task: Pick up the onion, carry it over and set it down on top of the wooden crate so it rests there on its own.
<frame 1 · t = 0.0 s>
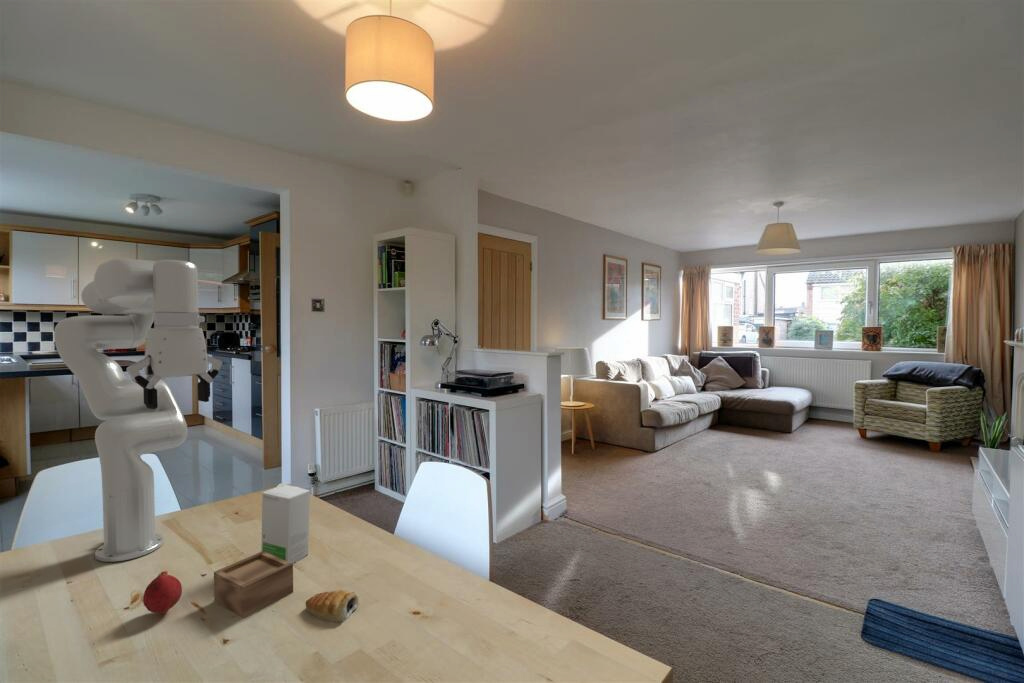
hand: (178, 404, 100), 37 cm above the table, tool pointing down, fingers open, 9 cm apart
pastry: (333, 613, 91), on the table
onion: (163, 614, 90), on the table
wooden crate: (254, 596, 96), on the table
skincare box: (286, 558, 112), on the table
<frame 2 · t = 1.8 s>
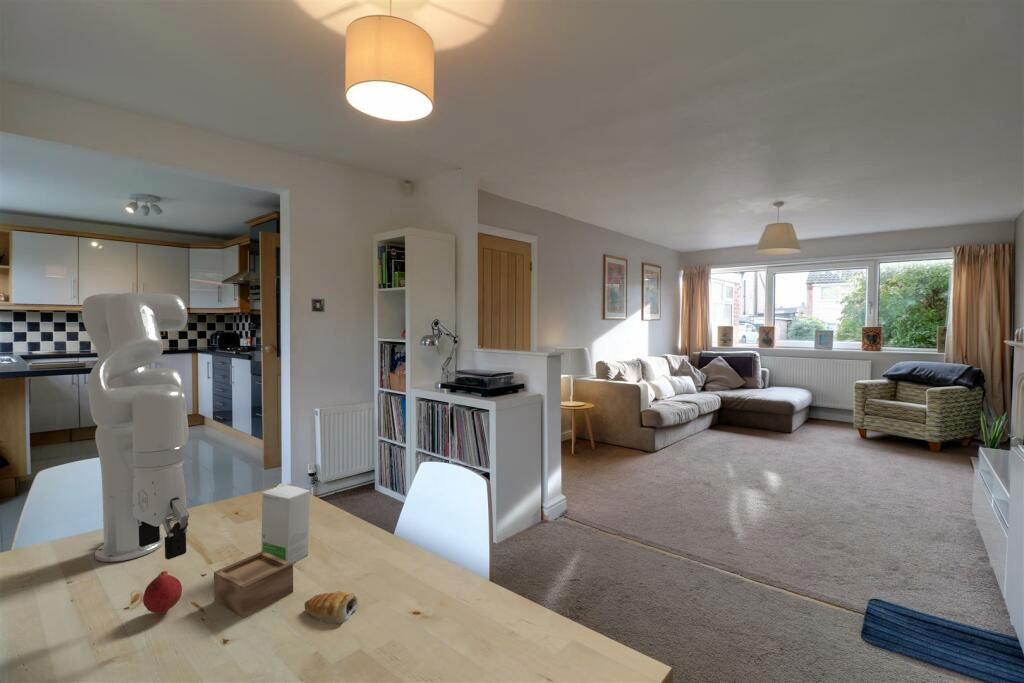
hand: (162, 550, 89), 12 cm above the table, tool pointing down, fingers open, 9 cm apart
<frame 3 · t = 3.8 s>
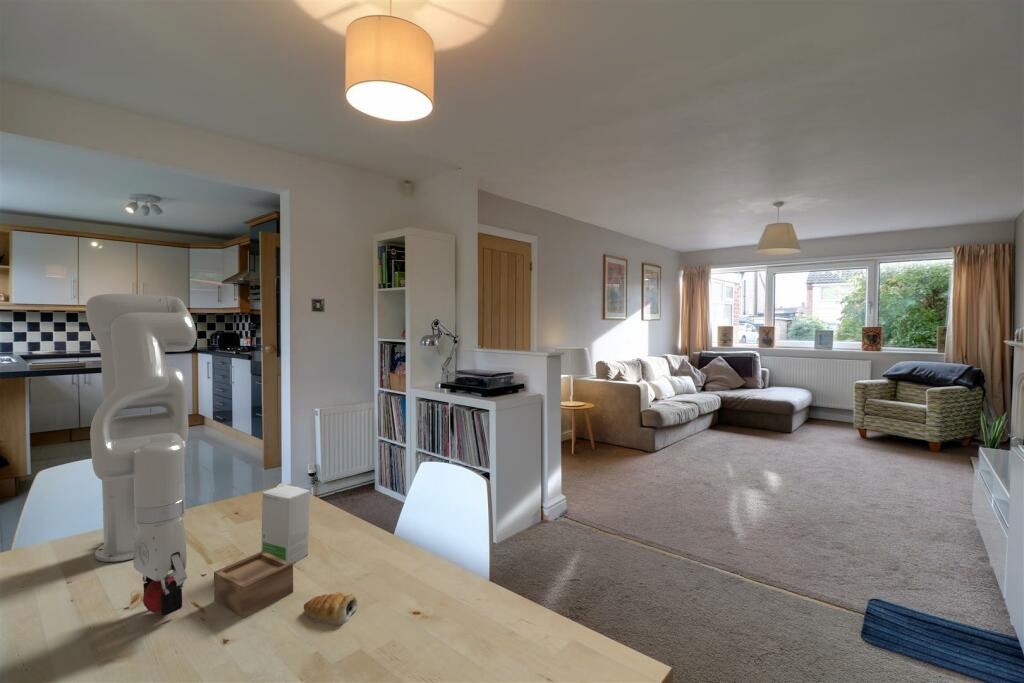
hand: (163, 605, 90), 2 cm above the table, tool pointing down, fingers closed on onion, 5 cm apart
onion: (163, 614, 90), on the table, touching gripper
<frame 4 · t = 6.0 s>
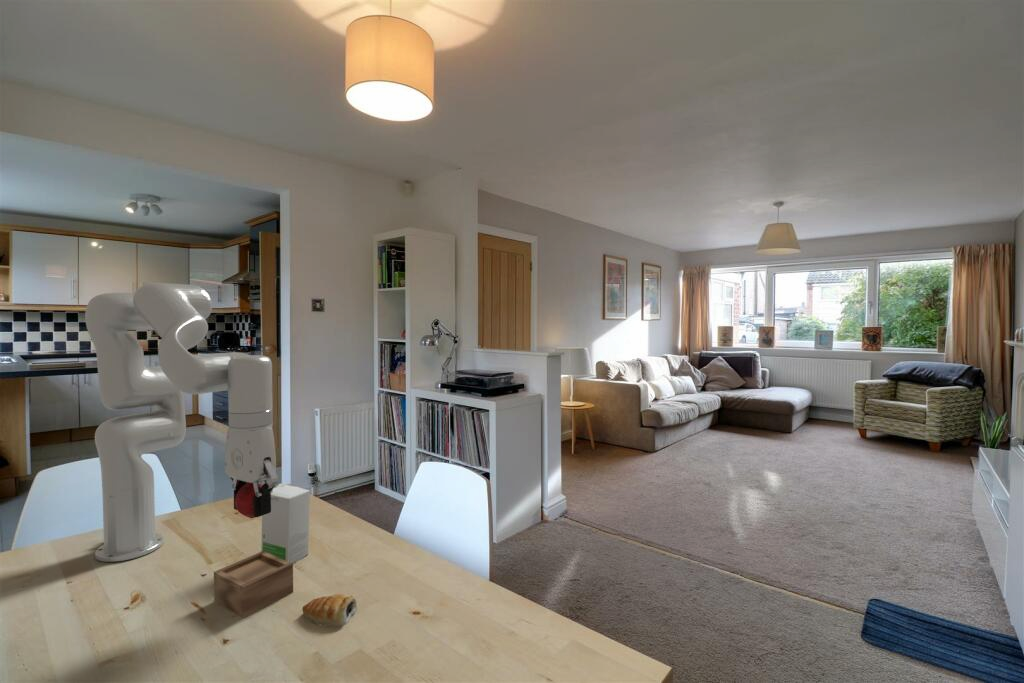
hand: (252, 510, 95), 17 cm above the table, tool pointing down, fingers closed on onion, 5 cm apart
onion: (252, 519, 95), point 16 cm above the table, touching gripper
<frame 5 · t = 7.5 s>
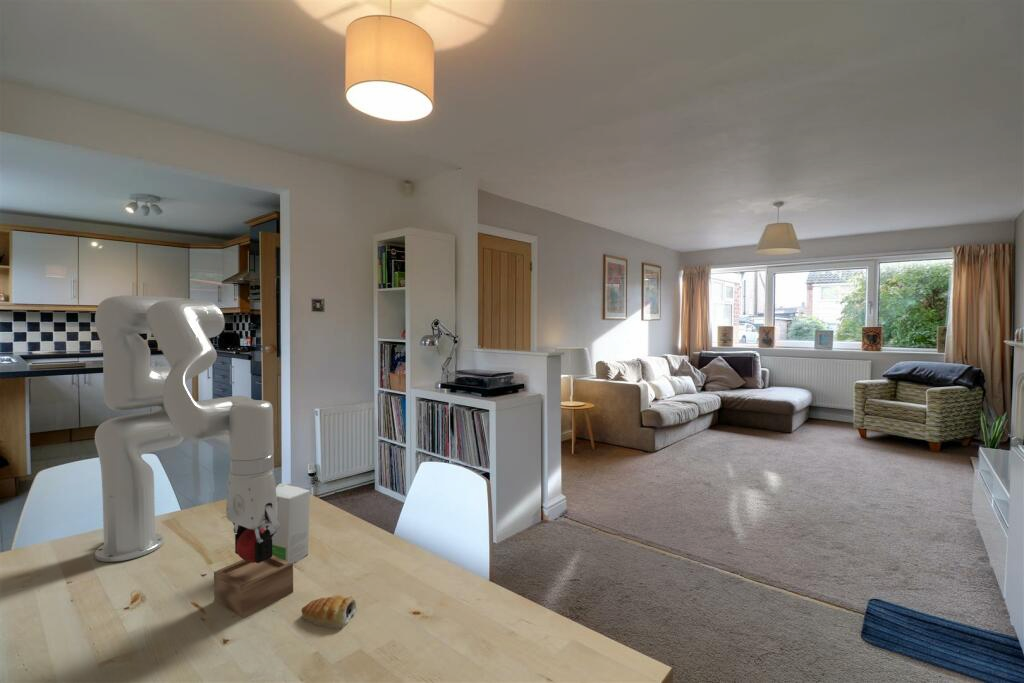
hand: (253, 554, 95), 8 cm above the table, tool pointing down, fingers closed on onion, 5 cm apart
onion: (253, 563, 95), point 7 cm above the table, touching gripper
when the fingers open (7 cm above the table, at t = 8.6 s): onion stays where it is, resting on wooden crate.
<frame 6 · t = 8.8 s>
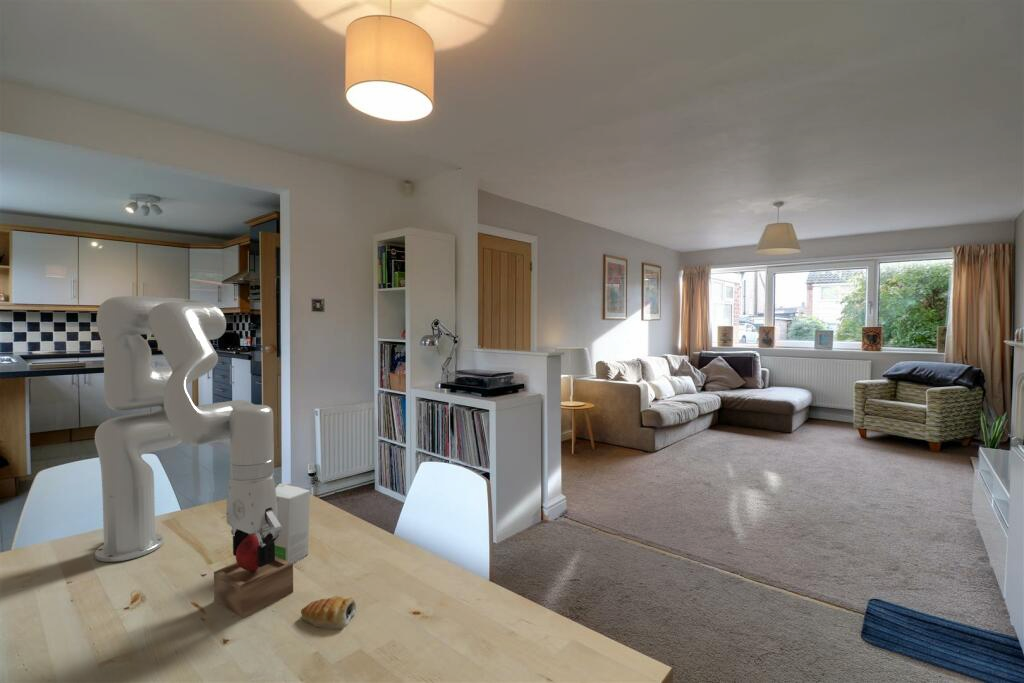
hand: (253, 557, 96), 8 cm above the table, tool pointing down, fingers open, 7 cm apart
onion: (253, 572, 96), point 5 cm above the table, touching wooden crate
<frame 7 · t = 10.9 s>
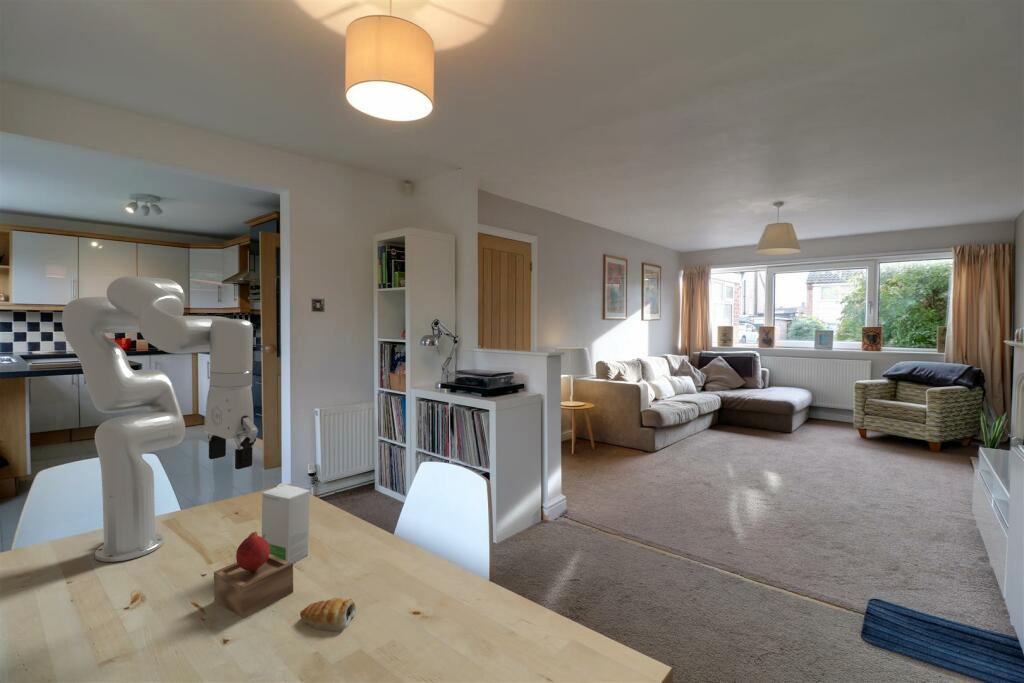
hand: (230, 462, 100), 25 cm above the table, tool pointing down, fingers open, 9 cm apart
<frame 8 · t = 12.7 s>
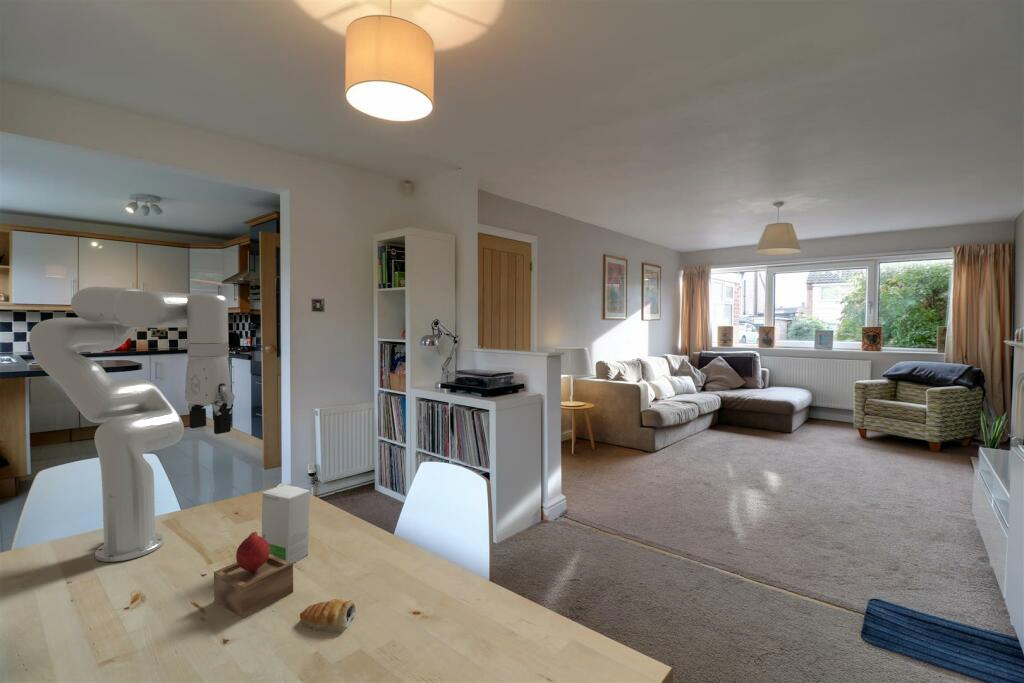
hand: (209, 429, 106), 30 cm above the table, tool pointing down, fingers open, 9 cm apart
at the end: onion inside the target area on the wooden crate (0.1 cm from its centre), point 4.8 cm above the wooden crate's base; the gripper is holding nothing; onion point 4.8 cm above the table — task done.
